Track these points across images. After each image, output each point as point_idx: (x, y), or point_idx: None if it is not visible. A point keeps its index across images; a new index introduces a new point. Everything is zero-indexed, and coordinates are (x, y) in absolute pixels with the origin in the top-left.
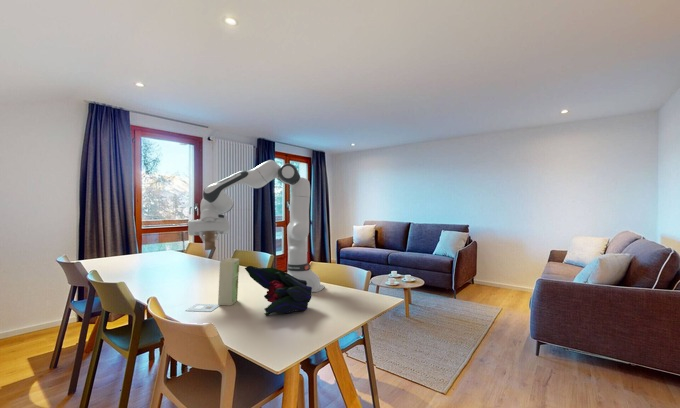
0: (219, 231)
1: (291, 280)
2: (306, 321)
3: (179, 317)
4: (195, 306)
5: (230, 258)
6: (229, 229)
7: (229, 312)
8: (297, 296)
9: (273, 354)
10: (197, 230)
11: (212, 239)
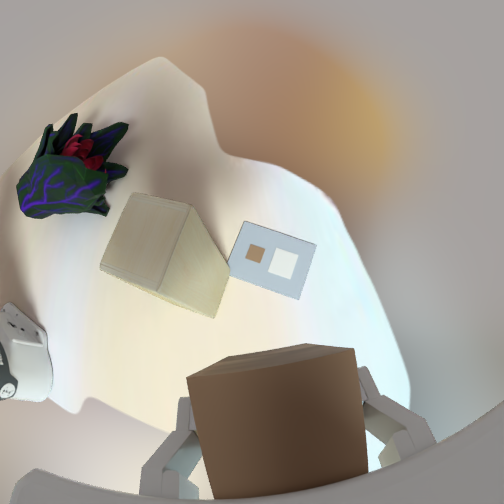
0: (140, 491)
1: (48, 134)
2: None
3: (317, 202)
4: (297, 274)
5: (137, 281)
6: (27, 475)
7: (197, 207)
8: (62, 141)
9: (156, 70)
10: (472, 433)
11: (238, 362)
